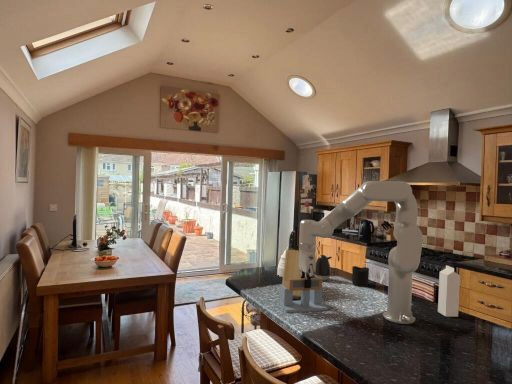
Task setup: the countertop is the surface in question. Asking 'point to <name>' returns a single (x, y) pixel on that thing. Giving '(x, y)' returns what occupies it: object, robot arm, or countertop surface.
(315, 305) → the gray blocky stand
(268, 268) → the countertop surface
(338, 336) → the countertop surface
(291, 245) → the knife block
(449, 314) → the milk
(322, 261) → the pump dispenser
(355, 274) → the pen holder
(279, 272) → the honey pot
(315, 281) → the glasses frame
